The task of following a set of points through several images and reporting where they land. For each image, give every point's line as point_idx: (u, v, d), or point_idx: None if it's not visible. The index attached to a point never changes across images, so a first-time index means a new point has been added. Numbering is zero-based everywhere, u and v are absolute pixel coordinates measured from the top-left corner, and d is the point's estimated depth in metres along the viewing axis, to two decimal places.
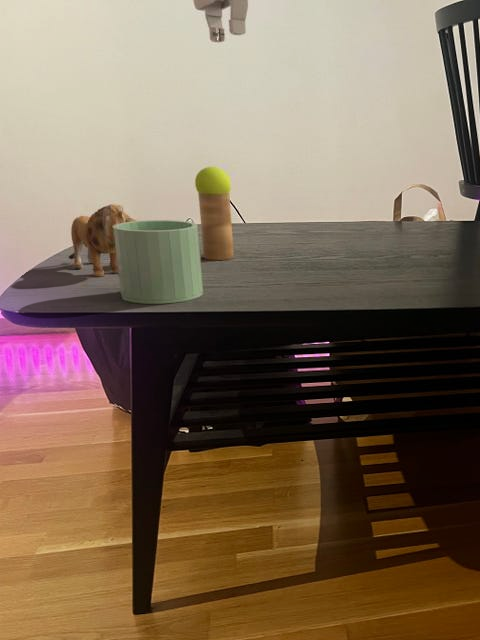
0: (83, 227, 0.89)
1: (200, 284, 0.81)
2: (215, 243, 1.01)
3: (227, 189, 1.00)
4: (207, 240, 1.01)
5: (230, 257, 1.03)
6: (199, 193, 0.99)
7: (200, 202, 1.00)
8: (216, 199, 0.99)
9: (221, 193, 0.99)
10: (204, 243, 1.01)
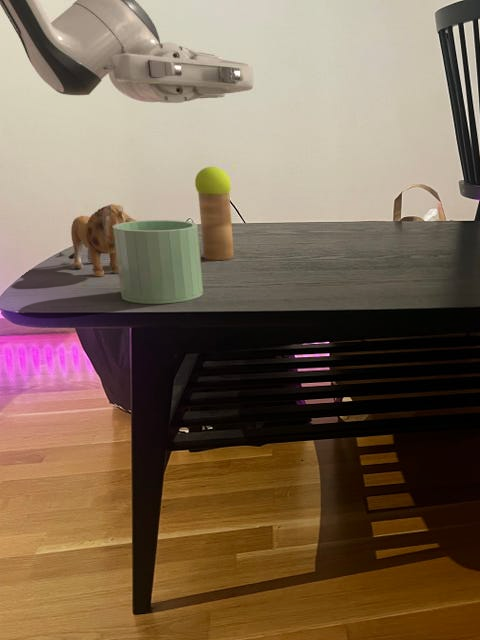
0: (83, 227, 0.89)
1: (200, 284, 0.81)
2: (215, 243, 1.01)
3: (227, 189, 1.00)
4: (207, 240, 1.01)
5: (230, 257, 1.03)
6: (199, 193, 0.99)
7: (200, 202, 1.00)
8: (216, 199, 0.99)
9: (221, 193, 0.99)
10: (204, 243, 1.01)
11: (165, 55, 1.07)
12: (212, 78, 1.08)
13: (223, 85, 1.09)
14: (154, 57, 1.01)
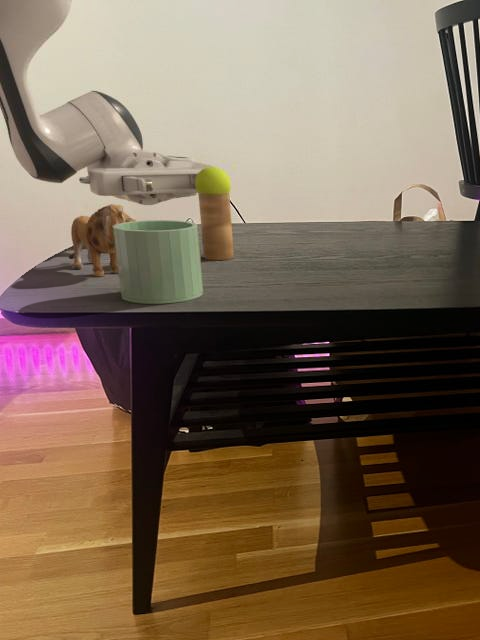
0: (83, 227, 0.89)
1: (200, 284, 0.81)
2: (215, 243, 1.01)
3: (227, 189, 1.00)
4: (207, 240, 1.01)
5: (230, 257, 1.03)
6: (199, 193, 0.99)
7: (200, 202, 1.00)
8: (216, 199, 0.99)
9: (221, 193, 0.99)
10: (204, 243, 1.01)
11: (139, 164, 1.13)
12: (184, 185, 1.14)
13: (194, 191, 1.15)
14: (127, 172, 1.07)
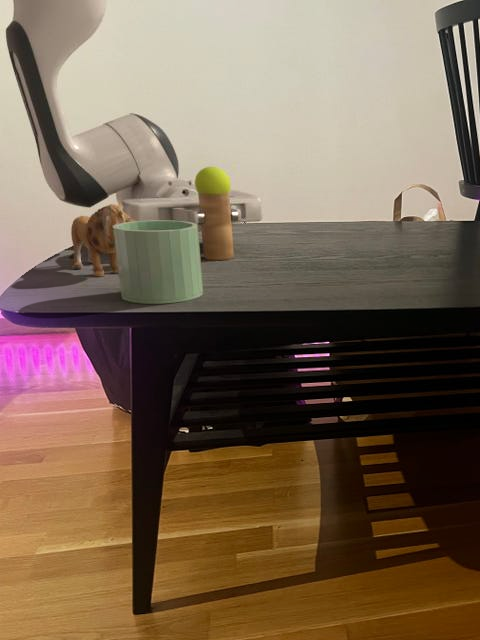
0: (83, 227, 0.89)
1: (200, 284, 0.81)
2: (215, 243, 1.01)
3: (227, 189, 1.00)
4: (207, 240, 1.01)
5: (230, 257, 1.03)
6: (199, 193, 0.99)
7: (200, 202, 1.00)
8: (216, 199, 0.99)
9: (221, 193, 0.99)
10: (204, 243, 1.01)
11: (174, 193, 1.06)
12: None
13: (233, 221, 1.08)
14: (164, 204, 1.00)
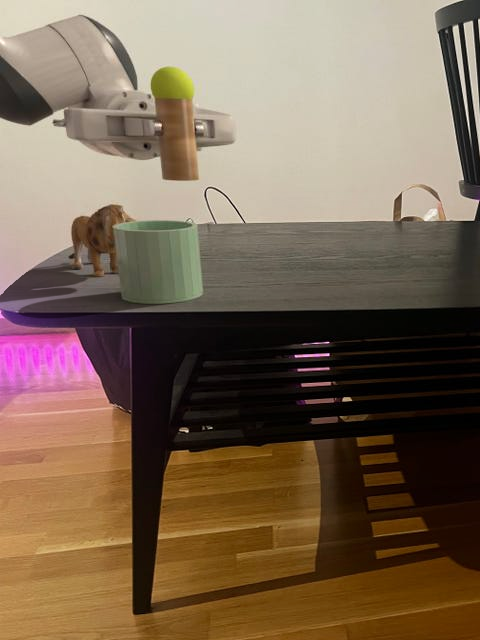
0: (83, 227, 0.89)
1: (200, 284, 0.81)
2: (176, 159, 0.84)
3: (189, 94, 0.83)
4: (166, 156, 0.84)
5: (194, 178, 0.86)
6: (155, 98, 0.83)
7: (157, 109, 0.83)
8: (176, 105, 0.83)
9: (182, 98, 0.83)
10: (162, 160, 0.85)
11: (129, 106, 0.90)
12: None
13: (199, 141, 0.91)
14: (113, 112, 0.83)
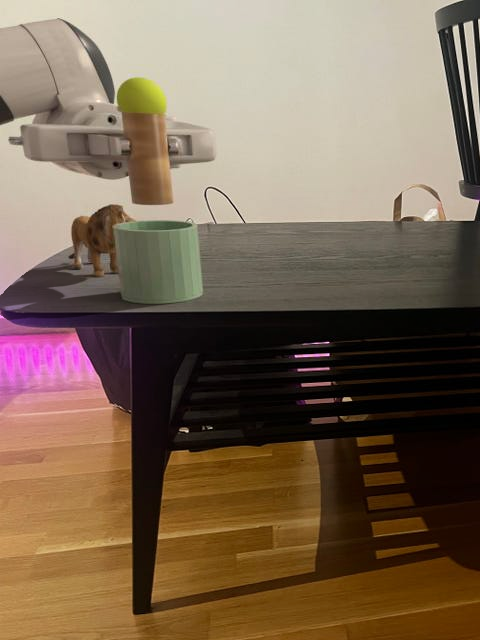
0: (83, 227, 0.89)
1: (200, 284, 0.81)
2: (146, 181, 0.75)
3: (160, 108, 0.74)
4: (135, 177, 0.75)
5: (167, 202, 0.77)
6: (122, 113, 0.73)
7: (124, 125, 0.74)
8: (145, 121, 0.73)
9: (152, 113, 0.73)
10: (131, 182, 0.76)
11: (96, 120, 0.80)
12: None
13: (174, 159, 0.82)
14: (75, 128, 0.74)
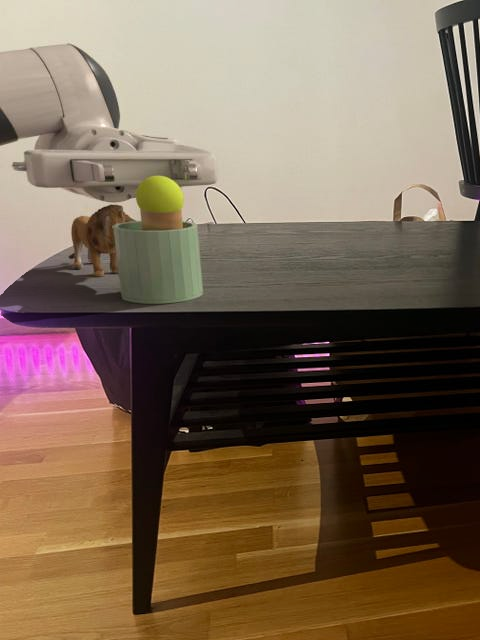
0: (83, 227, 0.89)
1: (200, 284, 0.81)
2: None
3: (178, 206, 0.77)
4: None
5: None
6: (141, 210, 0.76)
7: (142, 222, 0.77)
8: (163, 219, 0.76)
9: (170, 211, 0.76)
10: None
11: (99, 145, 0.81)
12: (162, 174, 0.82)
13: (176, 183, 0.83)
14: (79, 155, 0.75)
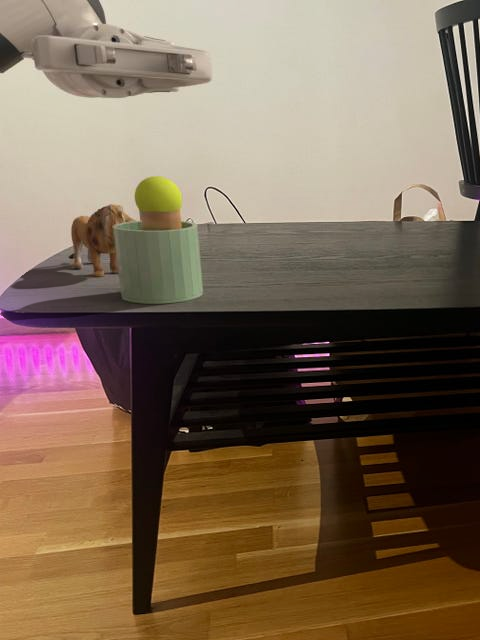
0: (83, 227, 0.89)
1: (200, 284, 0.81)
2: None
3: (176, 206, 0.77)
4: None
5: None
6: (140, 210, 0.77)
7: (141, 222, 0.77)
8: (162, 218, 0.77)
9: (168, 210, 0.77)
10: None
11: (101, 39, 0.87)
12: (159, 67, 0.88)
13: (173, 76, 0.89)
14: (82, 40, 0.81)
